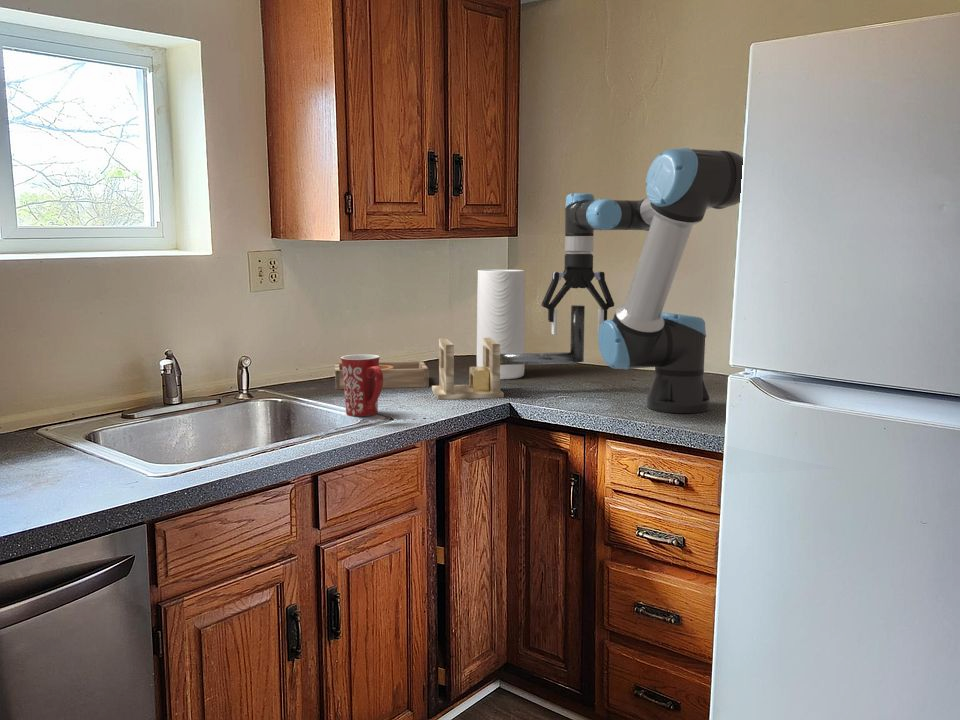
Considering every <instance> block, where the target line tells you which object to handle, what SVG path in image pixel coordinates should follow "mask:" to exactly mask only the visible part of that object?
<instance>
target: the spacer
mask: <svg viewBox="0 0 960 720" xmlns="http://www.w3.org/2000/svg"><path fill="white" fill-rule="evenodd" d="M469 385H470V388H473V391H489V370H488V369H487V368H486V367H484V366H478V367H477V366H469Z"/></svg>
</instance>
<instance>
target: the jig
mask: <svg viewBox="0 0 960 720" xmlns="http://www.w3.org/2000/svg"><path fill="white" fill-rule="evenodd" d="M454 348H455V345H454V343H452V342H451V341H450V340H448V338H438V381H439V382H438V385H431V391H432V392H433V395H435V397H436V399H437V400H467V399H470V400H473V399H501V398H502V399H503V398H504V397H505V396H504V395H505V394H504V392H503V391H502V390H501V380H500V343H498V342H496V341H495V340H493V339H491V338H483V366H484V367H486V368H487V369H488V370H489V391H473V388H470V384H455V379H454V378H455V361H454V360H455V357H454V356H455V355H454V354H455V349H454ZM488 356H489V362H488Z"/></svg>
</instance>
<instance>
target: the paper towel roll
mask: <svg viewBox="0 0 960 720" xmlns="http://www.w3.org/2000/svg"><path fill="white" fill-rule="evenodd" d="M525 271H526V270H523V269H479V270H477V292H476V293H477V296H476V297H477V299H476V301H477V303H476V304H477V307H476V311H477V312H476V367H478V366H483V338H491V339H493V340H495V341H496V342H498V343H500V354H511V353H526V347H525V346H526V343H525V342H526V337H525V335H526V327H525V326H526V325H525V324H526V310H525V309H526V306H525V305H526V302H525V301H526V300H525V299H526V295H525V294H526V291H525V290H526V285H525V282H526V280H525V278H526V277H525V276H526V275H525V273H526V272H525ZM525 365H526V364H524V365H500V381H503V380H505V379H506V380H515V379H520V378H522V377H523V376H524V375H525Z"/></svg>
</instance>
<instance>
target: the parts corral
mask: <svg viewBox="0 0 960 720" xmlns="http://www.w3.org/2000/svg"><path fill="white" fill-rule="evenodd" d="M379 365H390V366H393V369H381V370H382V373H383V386H382V389H394V388H397V389H398V388H399V389H400V388H427V387H430V386H429V382H430V381H429V378H430V377H429V367H428V366H427V365H426V363H425V362H424V361H423V360H421V361H419V360H418V361H417V360H415V361H379ZM334 378H335V380H334V381H335V390H344V381H343V368H342V362H335V363H334Z"/></svg>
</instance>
